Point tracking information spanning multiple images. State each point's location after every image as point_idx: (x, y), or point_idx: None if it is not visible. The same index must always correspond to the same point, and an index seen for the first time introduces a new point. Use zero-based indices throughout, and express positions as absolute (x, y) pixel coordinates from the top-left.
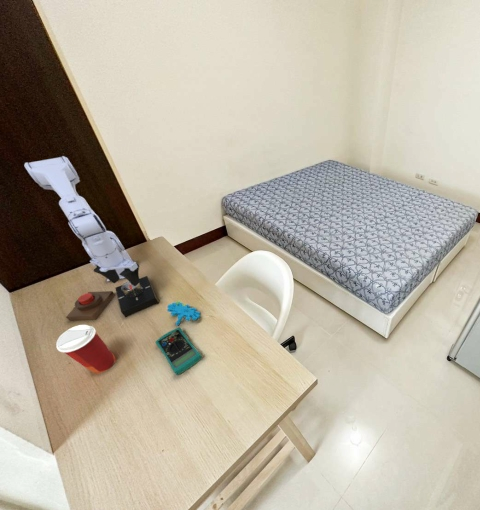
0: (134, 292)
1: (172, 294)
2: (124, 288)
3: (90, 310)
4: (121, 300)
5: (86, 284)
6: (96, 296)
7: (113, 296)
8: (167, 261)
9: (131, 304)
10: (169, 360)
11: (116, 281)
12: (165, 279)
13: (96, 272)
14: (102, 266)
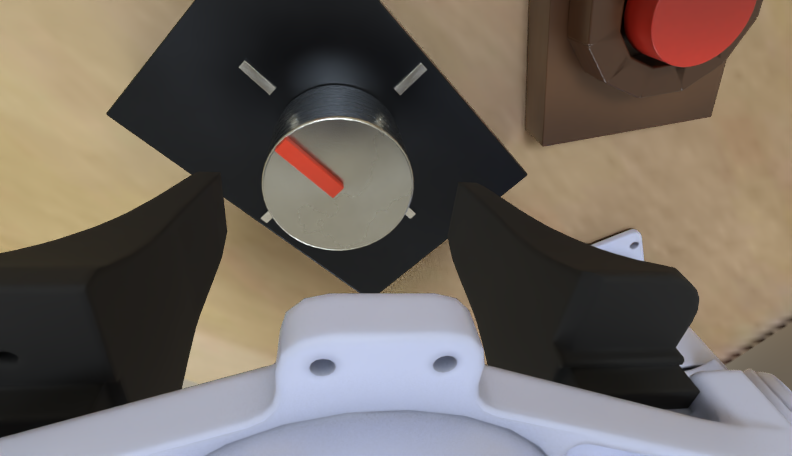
0: (278, 126)
1: (110, 184)
2: (360, 144)
3: None
4: (388, 47)
5: (750, 190)
6: (615, 56)
7: (527, 113)
8: None
9: (257, 5)
10: None
11: (455, 203)
12: (280, 290)
13: (643, 262)
14: (448, 445)
